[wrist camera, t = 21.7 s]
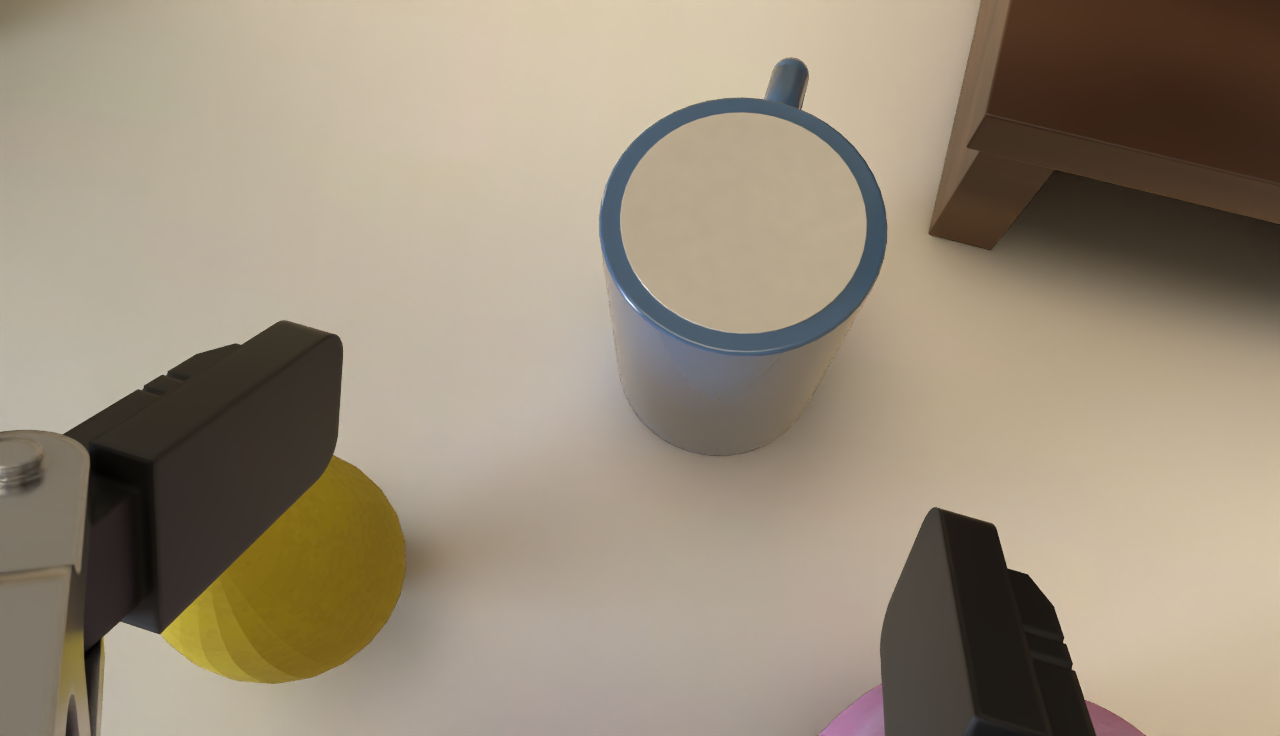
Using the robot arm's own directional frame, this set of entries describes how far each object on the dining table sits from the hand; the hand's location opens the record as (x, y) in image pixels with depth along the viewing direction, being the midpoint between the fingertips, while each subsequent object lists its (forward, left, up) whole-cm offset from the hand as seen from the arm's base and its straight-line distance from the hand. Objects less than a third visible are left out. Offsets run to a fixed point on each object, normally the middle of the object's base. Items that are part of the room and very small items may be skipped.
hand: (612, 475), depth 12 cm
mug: (-7, +4, -14) cm, 16 cm away
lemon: (-2, -8, -14) cm, 17 cm away
